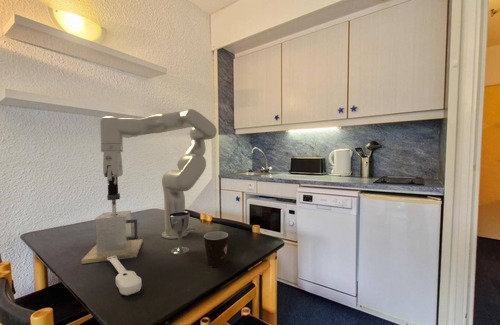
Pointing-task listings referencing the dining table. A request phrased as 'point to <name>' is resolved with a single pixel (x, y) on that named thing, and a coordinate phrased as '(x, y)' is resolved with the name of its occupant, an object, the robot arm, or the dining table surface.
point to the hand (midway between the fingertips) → (113, 194)
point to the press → (114, 238)
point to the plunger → (113, 201)
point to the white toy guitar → (125, 278)
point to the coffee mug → (216, 248)
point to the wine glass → (179, 228)
